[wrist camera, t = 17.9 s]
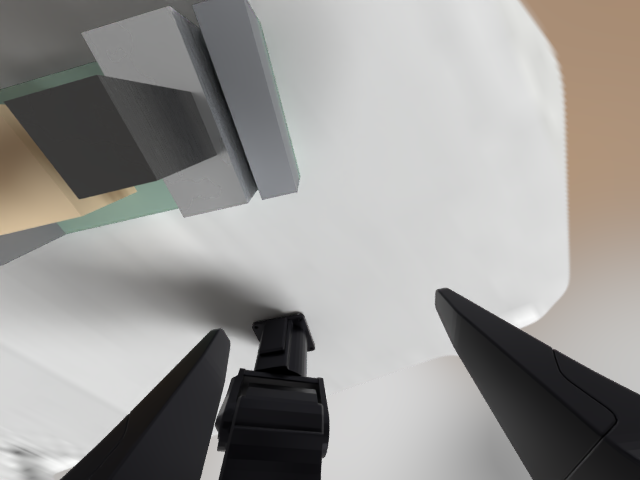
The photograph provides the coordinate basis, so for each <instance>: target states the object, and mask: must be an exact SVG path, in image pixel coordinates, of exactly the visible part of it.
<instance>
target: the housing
mask: <svg viewBox="0 0 640 480" xmlns="http://www.w3.org/2000/svg"><path fill="white" fill-rule="evenodd" d="M136 192H137V190H136V189H135V187H134V186H133V187H129V188H125V189H121V190H117V191H113V192H108V193H104V194H100V195H96V196H92V197H88V198H84V199H78V198H77V196H76V195H75V194H74V193H73V191H72V190H71V189H70V187H69V186H68V185H67V183H66V182H65V181H64V180H63V178H62V177H61V176H60V174H59V173H58V172H57V171H56V169H55V168H54V167H53V165H52V164H51V163H50V161H49V160H48V159H47V158H46V156H45V155H44V154H43V152H42V151H41V150H40V149H39V147H38V146H37V145H36V143H35V142H34V141H33V139H32V138H31V137H30V136H29V134H28V133H27V132H26V130H25V129H24V128H23V127H22V125H21V124H20V123H19V121H18V120H17V119H16V118H15V116H14V115H13V114H12V112H11V111H10V110H9V108H8V107H7V106H6V105H5V104H0V235H4V234H9V233H13V232H17V231H21V230H26V229H30V228H34V227H38V226H43V225H47V224H51V223H55V222H60V221H64V220H68V219H72V218H77V217H81V216H84V215H86V214H88V213H90V212H93V211H95V210H97V209H100V208H102V207H104V206H106V205H109V204H111V203H113V202H115V201H118V200H120V199H122V198H124V197H127V196H129V195H131V194H133V193H136Z"/></svg>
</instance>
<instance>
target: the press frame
mask: <svg viewBox="0 0 640 480" xmlns="http://www.w3.org/2000/svg"><path fill="white" fill-rule="evenodd" d="M192 7H193V9H194V12H195V15H196V18H197V21H198V23H199V26H200V29H201V32H202V34H203V37H204V40H205V43H206V46H207V48H208V51H209V54H210V57H211V59H212V62H213V65H214V68H215V71H216V73H217V76H218V79H219V82H220V84H221V87H222V90H223V93H224V96H225V98H226V101H227V104H228V107H229V109H230V112H231V115H232V118H233V121H234V123H235V126H236V129H237V132H238V134H239V137H240V140H241V143H242V146H243V148H244V151H245V154H246V157H247V159H248V162H249V165H250V168H251V171H252V173H253V176H254V179H255V182H256V184H257V187H258V190H259V193H260V195H261V198H262V200H264V199H268V198H273V197H277V196H281V195H286V194H290V193H295V192H297V190H298V185H299V180H300V173H299V170H298V166H297V162H296V158H295V154H294V150H293V146H292V143H291V139H290V135H289V131H288V127H287V123H286V120H285V116H284V112H283V108H282V104H281V100H280V96H279V93H278V89H277V85H276V81H275V77H274V73H273V70H272V66H271V62H270V58H269V54H268V50H267V46H266V43H265V39H264V35H263V31H262V27H261V23H260V22H259V20H258V18H257V16H256V15H255V13H254V11H253V9H252V8H251V6H250V4H249V3H248V1H247V0H207V1H203V2H200V3H197V4H194V5H192ZM94 75H102V76H105V75H104V73H103V72H102V70H101V68H100V66H99V65H98V63H97V61H96V62H92V63H89V64H85V65H82V66H79V67H75V68H72V69H68V70H65V71H62V72H58V73H55V74H51V75H48V76H45V77H41V78H38V79H34V80H31V81H28V82H24V83H21V84H17V85H14V86H11V87H7V88H4V89H0V104H5V103H4V101H8V100H11V99H14V98H18V97H21V96H25V95H28V94H32V93H35V92H39V91H42V90H46V89H49V88H52V87H56V86H59V85H63V84H66V83H70V82H73V81H77V80H80V79H84V78H87V77H91V76H94ZM134 187H135V189H136V190H137V192H136V193H133V194H131V195H129V196H127V197H124V198H122V199H120V200H118V201H115V202H113V203H111V204H109V205H106V206H104V207H102V208H100V209H97V210H95V211H93V212H90V213H88V214H86V215H84V216H81V217H77V218H72V219H68V220H64V221H60V222H55V223H51V224H47V225H43V226H38V227H34V228H30V229H26V230H21V231H17V232H13V233H9V234H4V235H0V266H2V265H4V264H6V263H8V262H10V261H12V260H14V259H16V258H18V257H20V256H22V255H24V254H26V253H28V252H30V251H32V250H35V249H37V248H39V247H41V246H43V245H45V244H47V243H49V242H51V241H53V240H55V239H57V238H59V237H61V236H63V235H65V234H69V233H73V232H78V231H82V230H86V229H91V228H95V227H99V226H104V225H108V224H112V223H117V222H121V221H126V220H130V219H134V218H139V217H143V216H147V215H152V214H156V213H161V212H165V211H169V210H174V209H178V206H177V204H176V202H175V201H174V199H173V197H172V195H171V193H170V192H169V190H168V188H167V186H166V184H165V183H164V181H163V179H160V180H158V181H154V182H150V183H146V184H142V185H137V186H134Z"/></svg>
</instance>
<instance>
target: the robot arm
mask: <svg viewBox="0 0 640 480" xmlns="http://www.w3.org/2000/svg"><path fill="white" fill-rule="evenodd" d="M435 307H436V310H437V312H438V314H439V317H440V319H441V321H442V323H443V325H444V327H445V330H446V332H447V334H448V336H449V338H450V340H451V342H452V344H453V347H454V348H455V350H456V352H457V354H458V355H459V357H460V359H461V360H462V362H463V363H464V365H465V367H466V369H467V370H468V372H469V374H470V375H471V377H472V378H473V380H474V382H475V384H476V385H477V387H478V389H479V390H480V392H481V394H482V395H483V397H484V399H485V400H486V402H487V404H488V405H489V407H490V409H491V410H492V412H493V414H494V415H495V417H496V419H497V421H498V422H499V424H500V426H501V427H502V429H503V431H504V432H505V434H506V436H507V437H508V439H509V440H510V442H511V444H512V446H513V447H514V449H515V451H516V452H517V454H518V455H519V457H520V459H521V461H522V462H523V464H524V466H525V467H526V469H527V471H528V472H529V474H530V476H531V477H532V479H533V480H640V395H639V394H638V393H636V392H633V391H632V390H630V389H628V388H626V387H624V386H622V385H620V384H618V383H616V382H614V381H612V380H610V379H608V378H606V377H604V376H602V375H600V374H599V373H597V372H595V371H593V370H591V369H589V368H587V367H586V366H584V365H582V364H580V363H578V362H576V361H575V360H573V359H571V358H569V357H568V356H566V355H564V354H562V353H561V352H559V351H557V350H555V349H552V348H551V347H550V346H548V345H546V344H545V343H543V342H541V341H539V340H538V339H536V338H534V337H532V336H531V335H529V334H527V333H526V332H524V331H522V330H520V329H519V328H517V327H515V326H513V325H512V324H510V323H508V322H506V321H505V320H503V319H501V318H499V317H498V316H496V315H494V314H492V313H491V312H489V311H487V310H485V309H484V308H482V307H480V306H478V305H477V304H475V303H473V302H471V301H470V300H468V299H466V298H464V297H463V296H461V295H459V294H457V293H456V292H454V291H452V290H450V289H449V288H442V289H437V290H436V293H435ZM300 318H301V319H300ZM252 328H253V330H254V332H255V334H256V336H257V338H258V340H259V341H260V345H259V349H258V355H257V359H256V363H255V368H254V371H251V370H245V369H243V368H240V370H239V373H238V375H237V376H236V377H233V378H232V379H231V382H230V385H229V389H228V392H227V395H226V397H225V400H224V402H223V404H222V407H221V409H220V411H219V414H218V416H217V419H216V415H217V411H218V407H219V403H220V399H221V395H222V391H223V387H224V383H225V377H226V371H227V364H228V358H229V351H230V340H229V338H228V337H227V335H226V334H225V332H224V330H223V329H221V328H219V329H214V330H211V331H210V332H209V333H208V334H207V335H206V336H205V337H204V338H203V339H202V340H201V341H200V342H199V343H198V344H197V345H196V346H195V347H194V348H193V349H192V350H191V351H190V352H189V353H188V354H187V355H186V356H185V357H184V358H183V359H182V360H181V361H180V362H179V363H178V364H177V365H176V366H175V367H174V368H173V369H172V370H171V371H170V372H169V373H168V375H167V376H166V377H165V378H164V379H163V380H162V381H161V382H160V383H159V384H158V385H157V386H156V387H155V388H154V389H153V390H152V391H151V392H150V393H149V394H148V395H147V396H146V397H145V398H144V399H143V400H142V401H141V402H140V403H139V404H138V405H137V406H136V407H135V408H134V409H133V410H132V411H131V412H130V414H128V415H127V416H126V417H125V418H124V419H123V420H122V421H121V422H120V423H119V424H118V425H117V426H116V427H115V428H114V429H113V430H112V431H111V432H110V433H109V434H108V435H107V436H106V437H105V438H104V439H103V440H102V441H101V442H100V443H99V444H98V445H97V446H96V447H95V448H93V449H92V450H91V451H90V452H89V453H88V454H87V455H86V456H85V457H84V458H83V459H82V460H81V461H80V462H79V463H78V464H76V465H75V466H74V467H73V468H72V469H71V470H70V471H69V472H68V473H67V474H66V475H65V476H63V477H62V478H61V479H60V480H200V478H201V474H202V470H203V466H204V462H205V458H206V454H207V450H208V446H209V443H210V439H211V435H212V431H213V427H214V423H215V427H216V429H217V431H218V439H219V442H218V447H217V451H225V455H224V459H223V464H222V467H221V472H220V476H219V480H321V463H322V458H324V457H325V455H326V453H327V448H328V442H329V413H328V407H327V400H326V394H325V388H324V382H323V378H319V377H318V378H311V377H306V375H307V352H308V351H313V350H314V349H315V344H314V341H313V339H312V336H311V333H310V330H309V327H308V325H307V322H306V319H305V316H304V315H302V314H298V315H293V316H287V317H282V318H276V319H271V320H265V321H259V322H255V323H253V326H252ZM215 419H216V422H215Z"/></svg>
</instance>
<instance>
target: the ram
mask: <svg viewBox="0 0 640 480" xmlns="http://www.w3.org/2000/svg"><path fill="white" fill-rule="evenodd" d="M81 34H82V36H83V38H84V39H85V41H86V43H87V45H88V47H89V48H90V50H91V52H92V54H93V56H94V57H95V59H96V61H97V63H98V65H99V66H100V68H101V70H102V72H103V73H104V75H105V76H102V75H94V76H91V77H87V78H84V79H80V80H77V81H73V82H70V83H66V84H63V85H59V86H56V87H52V88H49V89H46V90H42V91H39V92H35V93H32V94H28V95H25V96H21V97H18V98H14V99H11V100H8V101H4V103H5V105H6V106H7V107H8V108H9V110H10V111H11V112H12V114H13V115H14V116H15V118H16V119H17V120H18V121H19V123H20V124H21V125H22V127H23V128H24V129H25V130H26V132H27V133H28V134H29V136H30V137H31V138H32V139H33V141H34V142H35V143H36V145H37V146H38V147H39V149H40V150H41V151H42V152H43V154H44V155H45V156H46V158H47V159H48V160H49V161H50V163H51V164H52V165H53V167H54V168H55V169H56V171H57V172H58V173H59V174H60V176H61V177H62V178H63V180H64V181H65V182H66V183H67V185H68V186H69V187H70V189H71V190H72V191H73V193H74V194H75V195H76V196H77V198H78V199H84V198H88V197H92V196H96V195H100V194H104V193H108V192H113V191H117V190H121V189H125V188H129V187H133V186H137V185H142V184H146V183H150V182H154V181H158V180H160V179H163V181H164V183H165V184H166V186H167V188H168V190H169V192H170V193H171V195H172V197H173V199H174V201H175V202H176V204H177V206H178V208H179V209H180V211H181V213H182V215H183V217H189V216H193V215H198V214H202V213H207V212H211V211H215V210H220V209H224V208H229V207H233V206H238V205H242V204H247V203H248V202H249V201H250V199H251V198H252V197H253V195H254V194H255V192H256V191H257V190H258V187H257V184H256V182H255V179H254V176H253V173H252V171H251V168H250V165H249V162H248V159H247V157H246V154H245V151H244V148H243V146H242V143H241V140H240V137H239V134H238V132H237V129H236V126H235V123H234V121H233V118H232V115H231V112H230V109H229V107H228V104H227V101H226V98H225V96H224V93H223V90H222V87H221V84H220V82H219V79H218V76H217V73H216V71H215V68H214V65H213V62H212V59H211V57H210V54H209V51H208V48H207V46H206V43H205V40H204V37H203V34H202V32H201V29H200V28H198V27H197V26H196V25H194V24H193V23H192V22H190V21H189V20H188V19H186V18H185V17H184V16H182V15H181V14H180V13H178V12H177V11H176V10H174V9H173V8H172V7H171V6H166V7H163V8H160V9H157V10H153V11H150V12H147V13H144V14H140V15H137V16H134V17H131V18H127V19H124V20H121V21H118V22H114V23H111V24H108V25H105V26H101V27H98V28H95V29H92V30H88V31H85V32H82V33H81Z"/></svg>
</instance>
